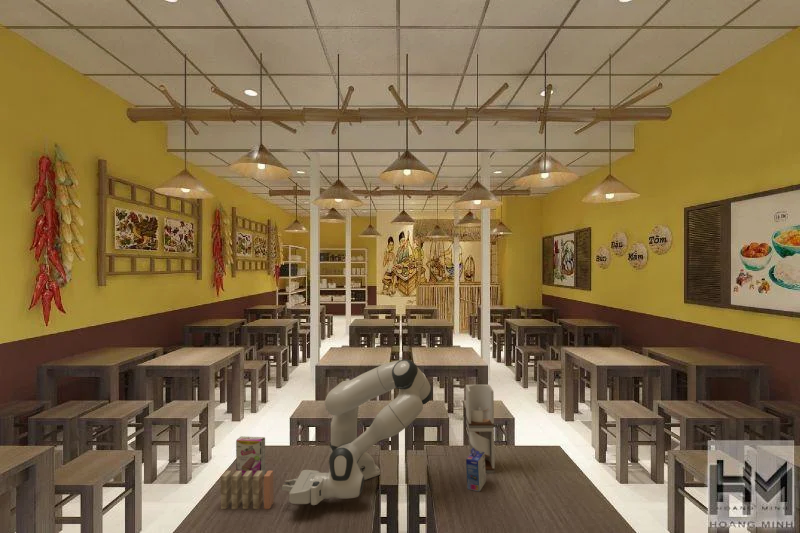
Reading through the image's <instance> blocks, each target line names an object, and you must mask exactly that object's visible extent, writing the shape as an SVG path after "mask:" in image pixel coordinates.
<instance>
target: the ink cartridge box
mask: <svg viewBox="0 0 800 533" xmlns="http://www.w3.org/2000/svg"><path fill="white" fill-rule="evenodd" d="M473 450H474V451H473ZM465 466H466V467H465V468H466V483H467V484H466V485H467V486H466V487H467V490H469V491H475V492H481V491H482V488H483V487H484V485H485V484H486V482H487V479H486V478H487V476H486V474H487V473H486V472H485V452H480V451H475V449H474V448H472V449H471V454H470V455H469V454H468V456H467V457H466V459H465Z"/></svg>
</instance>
